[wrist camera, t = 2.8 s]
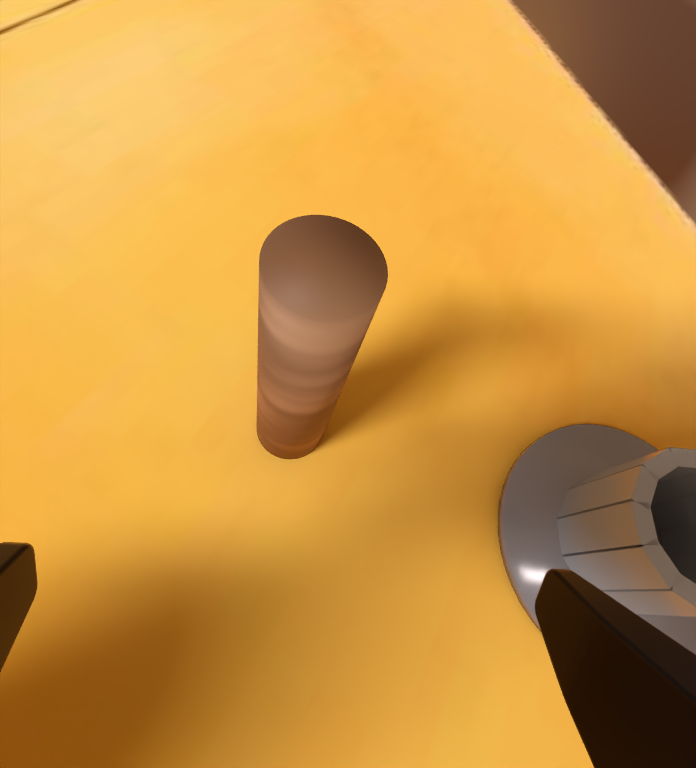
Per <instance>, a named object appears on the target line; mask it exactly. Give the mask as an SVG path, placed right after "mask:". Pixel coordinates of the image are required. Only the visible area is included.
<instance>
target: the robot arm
mask: <svg viewBox="0 0 696 768" xmlns="http://www.w3.org/2000/svg"><path fill="white" fill-rule="evenodd" d="M36 590H37V573H36V563H35V553H34V548H33V546H32V545H31V544H29V543H16V542H4V543H0V672H1V670H2V667H3V665H4V663H5V661H6V659H7V657H8V654H9V652H10V650H11V648H12V646H13V643H14V641H15V639H16V637H17V635H18V633H19V630H20V628H21V626H22V624H23V622H24V619H25V617H26V615H27V613H28V611H29V609H30V606H31V604H32V602H33V600H34V597H35V594H36ZM535 614H536V618H537V621H538V623H539V626H540V629H541V632H542V635H543V638H544V641H545V644H546V647H547V650H548V653H549V656H550V659H551V662H552V665H553V668H554V671H555V674H556V677H557V679H558V682H559V685H560V688H561V691H562V693H563V696H564V699H565V701H566V704H567V706H568V709H569V711H570V713H571V716H572V718H573V720H574V723H575V725H576V727H577V729H578V732H579V734H580V736H581V739H582V741H583V743H584V745H585V748H586V750H587V752H588V754H589V757H590V759H591V761H592V764H593V766H594V768H696V655H695V654H694V653H693V652H691V651H690V650H688V649H687V648H685V647H684V646H682V645H681V644H679V643H678V642H676V641H675V640H673V639H672V638H670V637H669V636H668V635H666V634H665V633H663V632H662V631H660V630H659V629H657V628H656V627H654V626H653V625H651V624H650V623H648V622H647V621H646V620H644V619H643V618H641V617H640V616H638V615H637V614H635V613H634V612H632V611H631V610H629V609H628V608H626V607H625V606H623V605H622V604H621V603H619V602H618V601H616V600H615V599H613V598H612V597H610V596H609V595H607V594H606V593H604V592H603V591H601V590H600V589H599V588H597V587H596V586H594V585H593V584H591V583H590V582H588V581H587V580H585V579H584V578H582V577H581V576H579V575H578V574H577V573H575V572H573V571H572V570H568V569H549V570H548V571H547V572H546V574H545V576H544V579H543V581H542V584H541V587H540V589H539V592H538V595H537V597H536V600H535Z"/></svg>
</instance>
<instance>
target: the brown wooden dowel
mask: <svg viewBox="0 0 696 768" xmlns="http://www.w3.org/2000/svg"><path fill="white" fill-rule="evenodd" d="M387 278H388V270H387V264H386V260H385V258H384V255H383V253H382V251H381V249H380V248H379V246H378V245H377V243H376V242H375V241H374V240H373V239H372V238H371V237H370V236H369V235H368V234H367V233H366V232H365V231H363V230H362V229H360V228H359V227H357V226H356V225H354V224H352V223H350V222H347V221H345V220H342V219H339V218H336V217H331V216H325V215H307V216H301V217H297V218H293V219H290V220H288V221H286V222H284V223H282V224H281V225H279V226H278V227H276V228H275V229H274V230H273V231H272V232H271V233H270V234H269V235H268V237H267V238H266V240H265V241H264V243H263V246H262V248H261V252H260V258H259V309H258V372H257V435H258V438H259V440H260V442H261V444H262V445H263V447H264V448H265V449H266V450H267V451H268V452H270V453H271V454H273V455H274V456H277V457H279V458H283V459H297V458H301V457H303V456H306V455H307V454H309V453H310V452H312V451H313V450H314V449H315V448H316V446H317V445H318V443H319V442H320V439H321V437H322V435H323V432H324V430H325V428H326V425H327V423H328V421H329V418H330V416H331V414H332V411H333V409H334V407H335V404H336V402H337V400H338V397H339V395H340V393H341V390H342V388H343V386H344V383H345V381H346V379H347V376H348V374H349V372H350V369H351V367H352V365H353V362H354V360H355V358H356V355H357V353H358V351H359V348H360V346H361V344H362V341H363V339H364V337H365V334H366V332H367V330H368V327H369V325H370V323H371V320H372V318H373V316H374V313H375V311H376V309H377V306H378V304H379V302H380V300H381V297H382V295H383V293H384V290H385V288H386V284H387Z"/></svg>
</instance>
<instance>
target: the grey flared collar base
mask: <svg viewBox="0 0 696 768" xmlns="http://www.w3.org/2000/svg"><path fill="white" fill-rule="evenodd" d="M498 535H499V542H500V549H501V554H502V558H503V562H504V565H505V569H506V572H507V574H508V577H509V580H510V582H511V585H512V587H513V589H514V591H515V593H516V595H517V597H518V599H519V601H520V603H521V605H522V606H523V608H524V610H525V611H526V613H527V614H528V616H529V617H530V619H531V620H532V622H533V623H534V624H535V625H536V627H537V628H538V629H539V630H540V631H541V629H540V626H539V623H538V621H537V618H536V614H535V600H536V597H537V595H538V592H539V589H540V587H541V584H542V581H543V579H544V576H545V574H546V572H547V571H548V570H549V569H568V570H572V571H573V572H575V573H577V574H578V575H579V576H581V577H582V578H584V579H585V580H587V581H588V582H590V583H591V584H593V585H594V586H596V587H597V588H599V589H600V590H601V591H603V592H604V593H606V594H607V595H609V596H610V597H612V598H613V599H615V600H616V601H618V602H619V603H621V604H622V605H623V606H625V607H626V608H628V609H629V610H631V611H632V612H634V613H635V614H637V615H638V616H640V617H641V618H643V619H644V620H646V621H647V622H648V623H650V624H651V625H653V626H654V627H656V628H657V629H659V630H660V631H662V632H663V633H665V634H666V635H668V636H669V637H670V638H672V639H673V640H675V641H676V642H678V643H679V644H681V645H682V646H684V647H685V648H687V649H688V650H690V651H691V652H693V653H694V654H695V655H696V450H692V449H683V448H673V447H670V448H666V449H663V450H660V451H659V450H657V449H656V448H654V447H653V446H652V445H650V444H649V443H647V442H645V441H643V440H641V439H640V438H638V437H636V436H634V435H631V434H629V433H627V432H624V431H622V430H618V429H615V428H612V427H607V426H602V425H592V424H581V425H571V426H567V427H563V428H560V429H557V430H555V431H553V432H550V433H548V434H546V435H544V436H543V437H541V438H539V439H538V440H536V441H535V442H533V443H532V444H531V445H529V446H528V447H527V448H526V449H525V450H524V451H523V452H522V453H521V454H520V456H519V457H518V458H517V459H516V461H515V462H514V464H513V465H512V467H511V469H510V471H509V473H508V474H507V477H506V480H505V482H504V485H503V488H502V492H501V497H500V501H499V511H498ZM541 633H542V632H541Z"/></svg>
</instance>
